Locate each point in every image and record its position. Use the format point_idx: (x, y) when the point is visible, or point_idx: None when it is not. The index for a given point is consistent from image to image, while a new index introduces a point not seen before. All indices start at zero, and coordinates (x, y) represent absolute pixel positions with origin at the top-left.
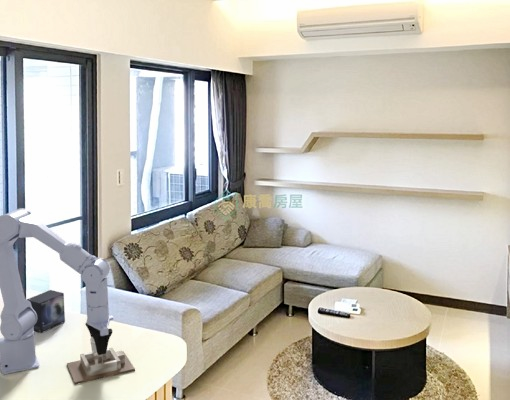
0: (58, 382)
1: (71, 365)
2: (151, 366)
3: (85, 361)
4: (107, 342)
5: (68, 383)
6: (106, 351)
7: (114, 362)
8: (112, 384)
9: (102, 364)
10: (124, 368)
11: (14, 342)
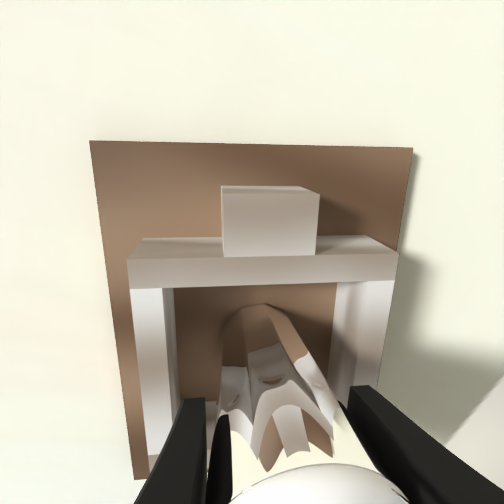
0: None
1: None
2: (418, 8)
3: None
4: (490, 487)
5: None
6: (295, 360)
7: (389, 294)
8: (462, 303)
9: (378, 372)
10: (369, 211)
11: None
